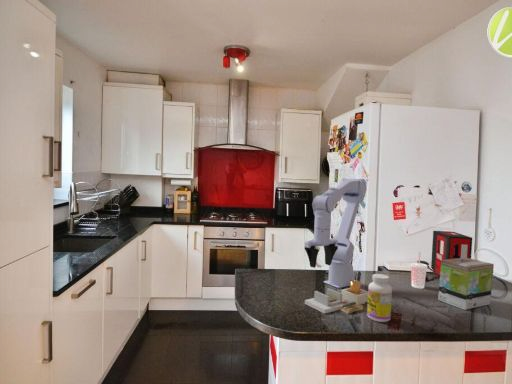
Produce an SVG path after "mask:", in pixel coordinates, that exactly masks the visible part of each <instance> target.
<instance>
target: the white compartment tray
mask: <svg viewBox="0 0 512 384" xmlns="http://www.w3.org/2000/svg"><path fill="white" fill-rule="evenodd" d="M313 293H314V294H313V295H314V296H313V297H312V298H308V299H304V305H307V306H309V307H311V308H312V309H315V310H317V311H319V312H320V313H322V314H329V313H332V312H337V311H341V310H340V306H341V305H344V304H348V303H350V302H348V301H346V300H343V299H342V292H339V291H337V290H334V289H331V288H327V289H326V294H324V293H322V292H320V291H318V290H314V292H313ZM327 295H330V296H332V297H335V298H337V301H334V302H330V303H329V300H330V297H329V296H327Z"/></svg>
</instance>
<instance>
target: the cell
mask: <svg viewBox="0 0 512 384" xmlns="http://www.w3.org/2000/svg"><path fill="white" fill-rule="evenodd" d="M361 285H362V282H361V281H360V280H357V279H353V280H351V281H350V286H349V288H350V292H351V293H353V294H356V295H360V289H361Z"/></svg>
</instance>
